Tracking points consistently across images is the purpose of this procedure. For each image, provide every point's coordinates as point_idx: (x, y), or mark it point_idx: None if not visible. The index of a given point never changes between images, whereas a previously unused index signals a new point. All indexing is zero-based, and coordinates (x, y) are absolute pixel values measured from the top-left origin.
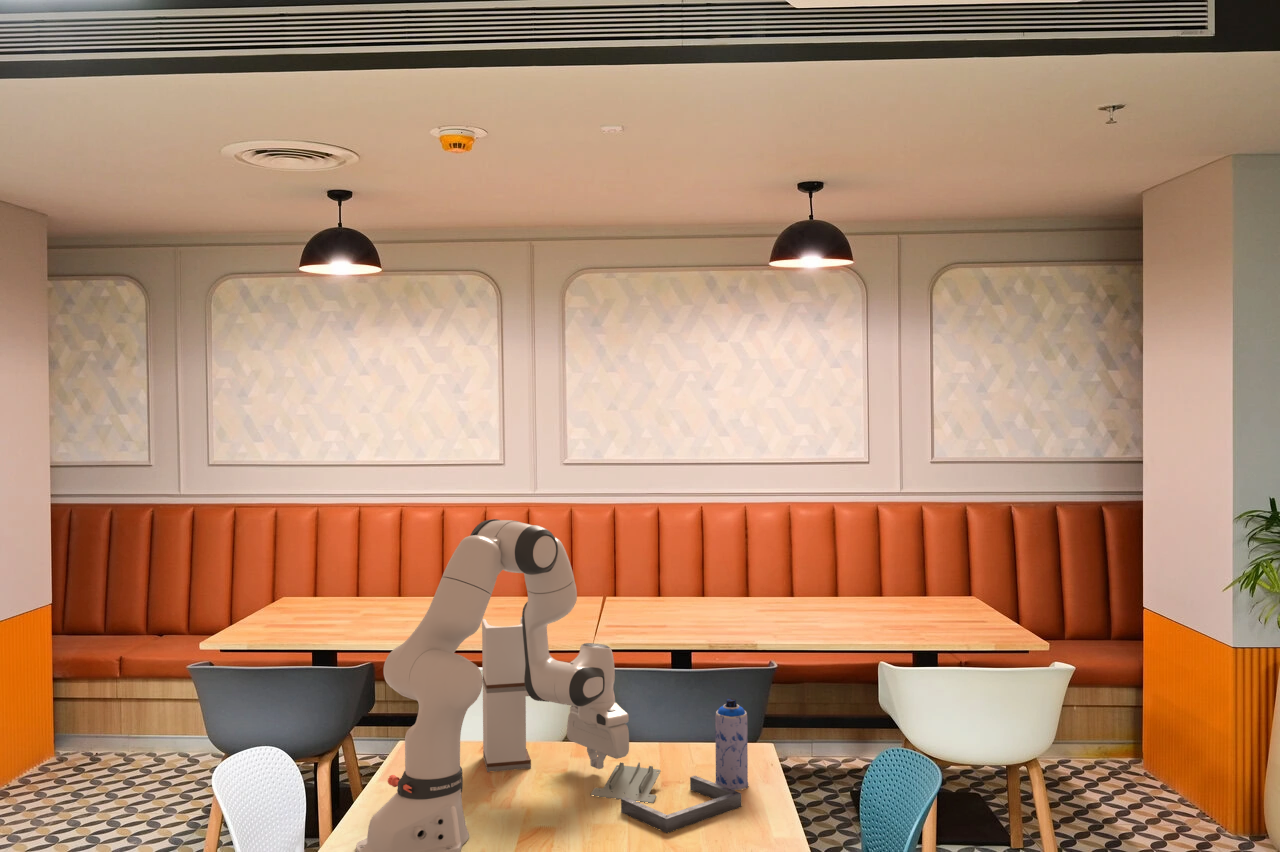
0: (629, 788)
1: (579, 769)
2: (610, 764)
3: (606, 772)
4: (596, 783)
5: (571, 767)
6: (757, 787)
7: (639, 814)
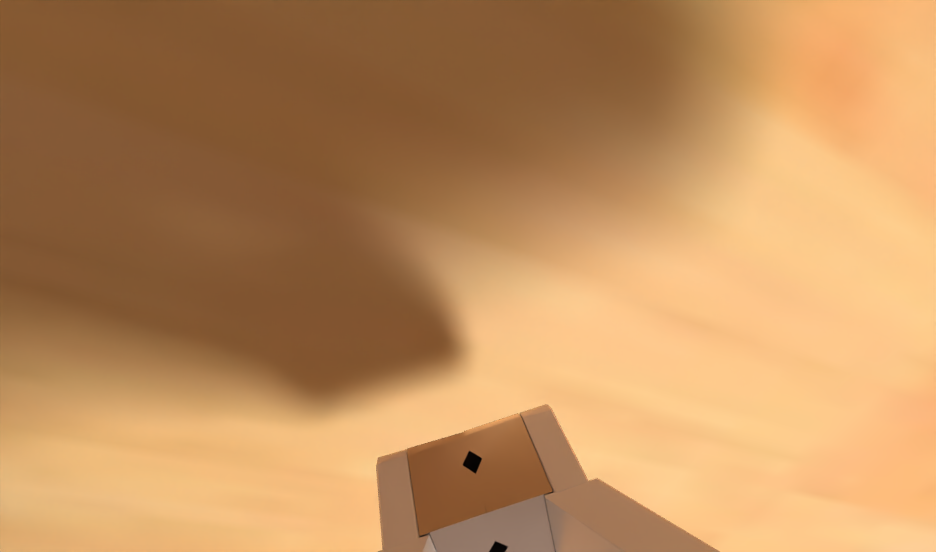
0: None
1: (703, 262)
2: None
3: None
4: (76, 296)
5: (821, 200)
6: None
7: None
